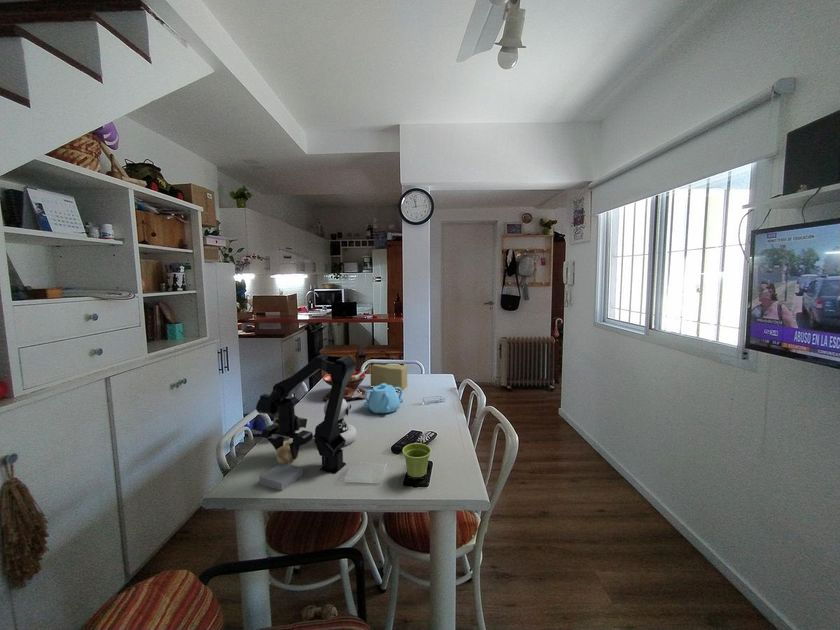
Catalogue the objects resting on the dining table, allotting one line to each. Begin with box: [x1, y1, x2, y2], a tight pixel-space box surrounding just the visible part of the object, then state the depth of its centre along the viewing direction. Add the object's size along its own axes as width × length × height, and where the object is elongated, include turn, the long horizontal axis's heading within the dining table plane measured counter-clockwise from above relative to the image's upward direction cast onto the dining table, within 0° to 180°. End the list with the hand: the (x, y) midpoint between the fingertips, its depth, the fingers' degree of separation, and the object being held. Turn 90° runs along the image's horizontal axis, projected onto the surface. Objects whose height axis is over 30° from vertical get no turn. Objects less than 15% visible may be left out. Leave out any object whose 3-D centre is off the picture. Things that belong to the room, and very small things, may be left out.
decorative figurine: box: [323, 399, 358, 447], centre depth 131 cm, size 15×15×20 cm
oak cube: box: [276, 442, 300, 465], centre depth 118 cm, size 5×5×5 cm
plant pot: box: [402, 442, 432, 477], centre depth 107 cm, size 9×9×9 cm
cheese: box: [370, 363, 408, 391], centre depth 195 cm, size 22×10×15 cm, turn 73°
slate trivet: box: [259, 462, 304, 492], centre depth 106 cm, size 9×9×2 cm
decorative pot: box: [363, 383, 404, 414], centre depth 163 cm, size 16×16×14 cm
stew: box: [322, 364, 371, 401], centre depth 184 cm, size 28×24×16 cm
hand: (288, 457), depth 118 cm, fingers open, 6 cm apart
